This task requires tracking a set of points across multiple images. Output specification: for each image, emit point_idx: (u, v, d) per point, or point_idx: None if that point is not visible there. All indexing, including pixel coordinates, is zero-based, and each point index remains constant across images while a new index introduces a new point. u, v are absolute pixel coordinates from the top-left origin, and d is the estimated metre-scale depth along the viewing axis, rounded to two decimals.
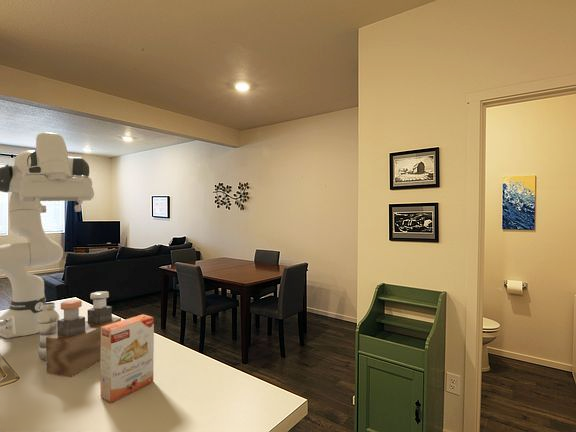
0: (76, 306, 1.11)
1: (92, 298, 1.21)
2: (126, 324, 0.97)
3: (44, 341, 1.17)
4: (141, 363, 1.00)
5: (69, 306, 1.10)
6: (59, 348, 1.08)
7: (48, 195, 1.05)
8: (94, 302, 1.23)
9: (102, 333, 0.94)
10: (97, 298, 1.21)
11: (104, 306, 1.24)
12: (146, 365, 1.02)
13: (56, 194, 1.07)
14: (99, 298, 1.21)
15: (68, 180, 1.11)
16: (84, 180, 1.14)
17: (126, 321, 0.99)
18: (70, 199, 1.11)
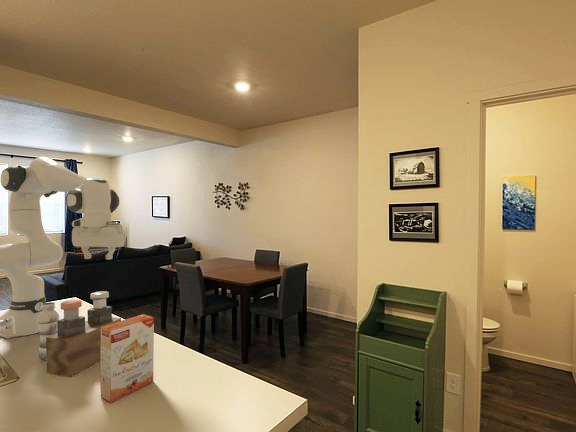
0: (76, 306, 1.11)
1: (92, 298, 1.21)
2: (126, 324, 0.97)
3: (44, 341, 1.17)
4: (141, 363, 1.00)
5: (69, 306, 1.10)
6: (59, 348, 1.08)
7: (87, 246, 1.22)
8: (94, 302, 1.23)
9: (102, 333, 0.94)
10: (97, 298, 1.21)
11: (104, 306, 1.24)
12: (146, 365, 1.02)
13: (91, 244, 1.21)
14: (99, 298, 1.21)
15: (100, 230, 1.20)
16: (111, 230, 1.19)
17: (126, 321, 0.99)
18: None
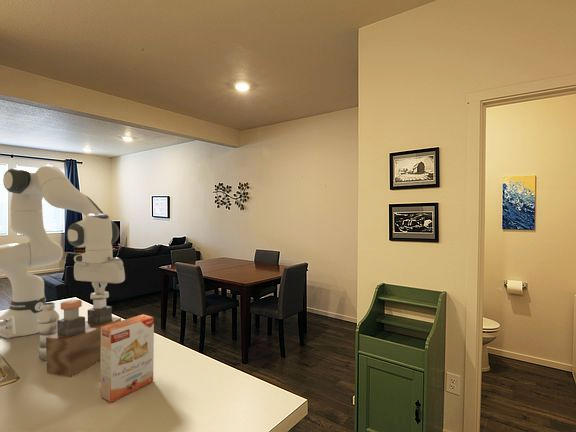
0: (76, 306, 1.11)
1: (92, 298, 1.21)
2: (126, 324, 0.97)
3: (44, 341, 1.17)
4: (141, 363, 1.00)
5: (69, 306, 1.10)
6: (59, 348, 1.08)
7: (89, 280, 1.23)
8: (94, 302, 1.23)
9: (102, 333, 0.94)
10: (97, 298, 1.21)
11: (104, 306, 1.24)
12: (146, 365, 1.02)
13: (93, 280, 1.22)
14: (99, 298, 1.21)
15: (102, 266, 1.21)
16: (112, 266, 1.20)
17: (126, 321, 0.99)
18: None
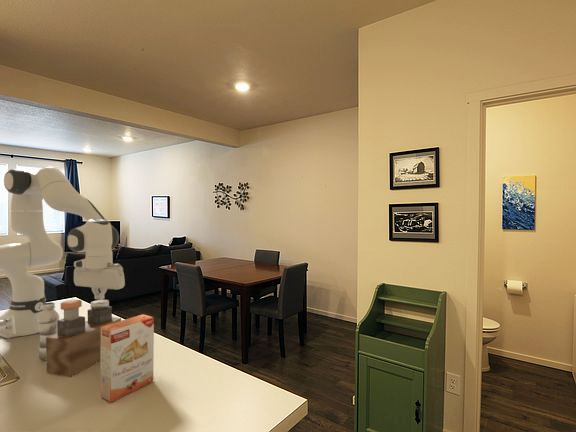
0: (76, 306, 1.11)
1: (92, 307, 1.21)
2: (126, 324, 0.97)
3: (44, 341, 1.17)
4: (141, 363, 1.00)
5: (69, 306, 1.10)
6: (59, 348, 1.08)
7: (89, 286, 1.23)
8: None
9: (102, 333, 0.94)
10: (97, 307, 1.21)
11: None
12: (146, 365, 1.02)
13: (93, 285, 1.22)
14: (99, 307, 1.21)
15: (102, 272, 1.21)
16: (112, 272, 1.20)
17: (126, 321, 0.99)
18: None
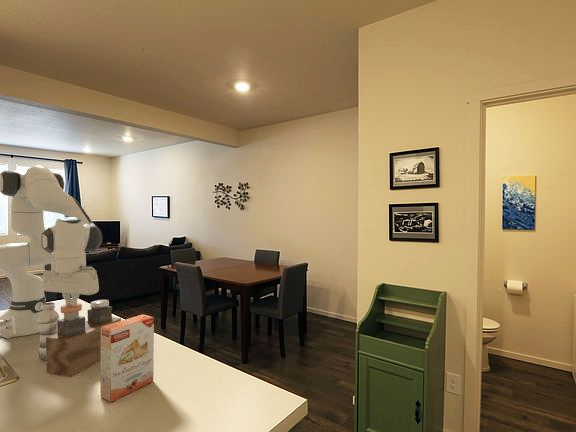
0: (76, 309, 1.11)
1: (92, 307, 1.21)
2: (126, 324, 0.97)
3: (44, 341, 1.17)
4: (141, 363, 1.00)
5: (69, 309, 1.10)
6: (59, 348, 1.08)
7: (59, 291, 1.11)
8: None
9: (102, 333, 0.94)
10: (97, 307, 1.21)
11: None
12: (146, 365, 1.02)
13: (63, 291, 1.11)
14: (99, 307, 1.21)
15: (73, 276, 1.09)
16: (84, 276, 1.08)
17: (126, 321, 0.99)
18: None
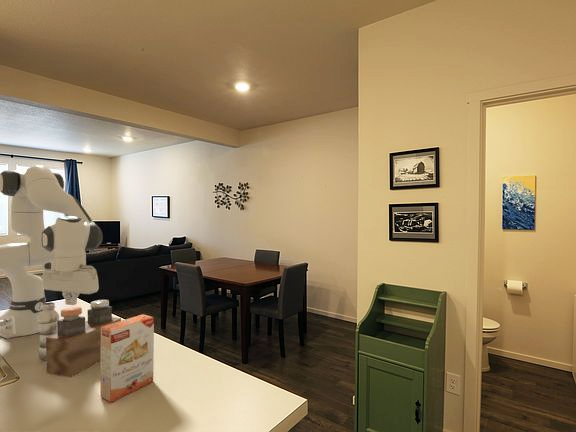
0: (76, 313, 1.11)
1: (92, 307, 1.21)
2: (126, 324, 0.97)
3: (44, 341, 1.17)
4: (141, 363, 1.00)
5: (69, 313, 1.10)
6: (59, 348, 1.08)
7: (59, 290, 1.11)
8: None
9: (102, 333, 0.94)
10: (97, 307, 1.21)
11: None
12: (146, 365, 1.02)
13: (63, 289, 1.11)
14: (99, 307, 1.21)
15: (73, 275, 1.09)
16: (84, 275, 1.08)
17: (126, 321, 0.99)
18: None
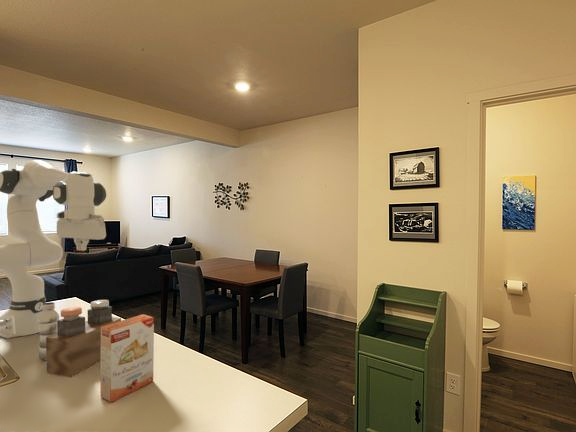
0: (76, 313, 1.11)
1: (92, 307, 1.21)
2: (126, 324, 0.97)
3: (44, 341, 1.17)
4: (141, 363, 1.00)
5: (69, 313, 1.10)
6: (59, 348, 1.08)
7: (71, 237, 1.26)
8: None
9: (102, 333, 0.94)
10: (97, 307, 1.21)
11: None
12: (146, 365, 1.02)
13: (75, 236, 1.26)
14: (99, 307, 1.21)
15: (83, 223, 1.24)
16: (93, 223, 1.23)
17: (126, 321, 0.99)
18: None
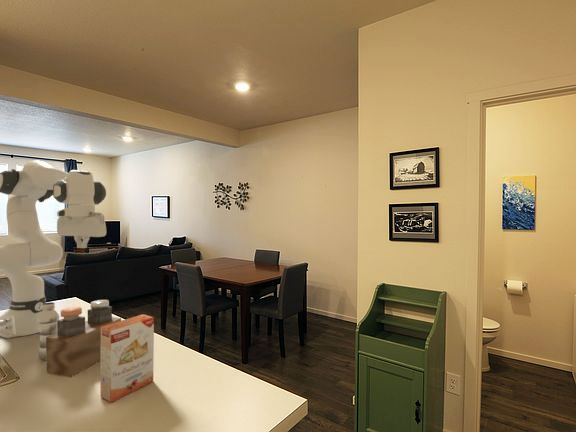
0: (76, 313, 1.11)
1: (92, 307, 1.21)
2: (126, 324, 0.97)
3: (44, 341, 1.17)
4: (141, 363, 1.00)
5: (69, 313, 1.10)
6: (59, 348, 1.08)
7: (71, 235, 1.27)
8: None
9: (102, 333, 0.94)
10: (97, 307, 1.21)
11: None
12: (146, 365, 1.02)
13: (75, 234, 1.26)
14: (99, 307, 1.21)
15: (84, 220, 1.25)
16: (94, 220, 1.24)
17: (126, 321, 0.99)
18: None
